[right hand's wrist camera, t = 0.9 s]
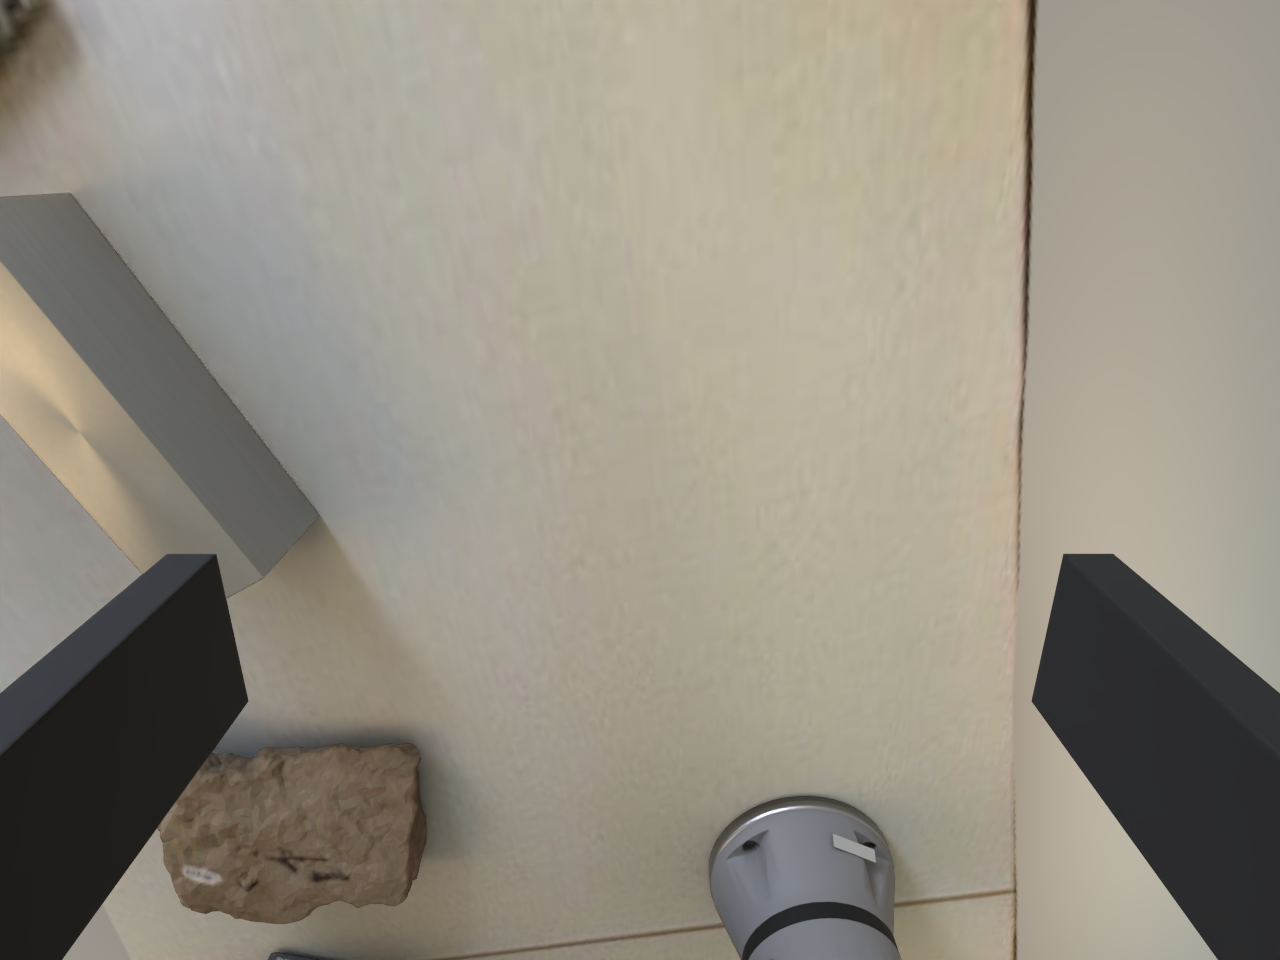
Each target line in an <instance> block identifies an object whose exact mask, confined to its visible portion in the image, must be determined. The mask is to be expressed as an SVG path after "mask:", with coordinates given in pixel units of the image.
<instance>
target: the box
mask: <svg viewBox="0 0 1280 960" xmlns="http://www.w3.org/2000/svg"><path fill="white" fill-rule="evenodd" d="M0 415H1V416H2V417H3V418H4V419H5V420H6V421H7V422H8V424H9V425H10V426H11V427H12V428H13V429H14V430H15V431H16V433H17V434H18V435H19V436H20V437H21V438H22V439H23V440H24V442H25V443H26V444H27V445H28V446H29V447H30V448H31V449H32V451H33V452H34V453H35V454H36V455H37V456H38V457H39V458H40V459H41V461H42V462H43V463H44V464H45V465H46V466H47V467H48V468H49V470H50V471H51V472H52V473H53V474H54V475H55V476H56V477H57V479H58V480H59V481H60V482H61V483H62V484H63V485H64V486H65V488H66V489H67V490H68V491H69V492H70V493H71V494H72V495H73V497H74V498H75V499H76V500H77V501H78V502H79V503H80V504H81V506H82V507H83V508H84V509H85V510H86V511H87V512H88V513H89V515H90V516H91V517H92V518H93V519H94V520H95V521H96V522H97V524H98V525H99V526H100V527H101V528H102V529H103V530H104V531H105V533H106V534H107V535H108V536H109V537H110V538H111V539H112V540H113V542H114V543H115V544H116V545H117V546H118V547H119V548H120V549H121V551H122V552H123V553H124V554H125V555H126V556H127V557H128V558H129V560H130V561H131V562H132V563H133V564H134V565H135V566H136V567H137V569H138V570H139V571H140V572H141V573H142V574H144V573H145V572H146V571H147V570H148V569H150V568H151V567H152V566H153V565H154V564H156V563H157V562H158V561H159V560H160V559H161V558H163V557H164V556H165V555H166V554H217V559H218V564H219V568H220V573H221V577H222V582H223V587H224V591H225V596H226V598H228V597H230V596H232V595H234V594H236V593H237V592H239V591H241V590H243V589H245V588H246V587H248V586H250V585H252V584H254V583H256V582H257V581H259V580H261V579H263V578H264V577H265V576H266V575H267V574H268V573H269V572H270V570H271V569H272V568H273V567H274V566H275V565H276V564H277V563H278V561H279V560H280V559H281V558H282V557H283V556H284V555H285V554H286V553H287V551H288V550H289V549H290V548H291V547H292V546H293V545H294V544H295V542H296V541H297V540H298V539H299V538H300V537H301V536H302V535H303V534H304V532H305V531H306V530H307V529H308V528H309V527H310V526H311V525H312V523H313V522H314V521H315V520H316V519H317V518H318V517H319V516H320V515H319V514H318V512H317V511H316V510H315V508H314V507H313V506H312V505H311V503H310V502H309V501H308V499H307V498H306V497H305V496H304V494H303V493H302V492H301V490H300V489H299V488H298V487H297V485H296V484H295V483H294V481H293V480H292V479H291V477H290V476H289V475H288V474H287V472H286V471H285V470H284V468H283V467H282V466H281V465H280V463H279V462H278V461H277V459H276V458H275V457H274V456H273V454H272V453H271V452H270V450H269V449H268V448H267V446H266V445H265V444H264V443H263V441H262V440H261V439H260V437H259V436H258V435H257V434H256V432H255V431H254V430H253V428H252V427H251V426H250V425H249V423H248V422H247V421H246V419H245V418H244V417H243V415H242V414H241V413H240V412H239V410H238V409H237V408H236V406H235V405H234V404H233V403H232V401H231V400H230V399H229V397H228V396H227V395H226V394H225V392H224V391H223V390H222V388H221V387H220V386H219V384H218V383H217V382H216V381H215V379H214V378H213V377H212V375H211V374H210V373H209V372H208V370H207V369H206V368H205V366H204V365H203V364H202V363H201V361H200V360H199V359H198V357H197V356H196V355H195V353H194V352H193V351H192V350H191V348H190V347H189V346H188V344H187V343H186V342H185V341H184V339H183V338H182V337H181V335H180V334H179V333H178V332H177V330H176V329H175V328H174V326H173V325H172V324H171V322H170V321H169V320H168V319H167V317H166V316H165V315H164V313H163V312H162V311H161V310H160V308H159V307H158V306H157V304H156V303H155V302H154V301H153V299H152V298H151V297H150V295H149V294H148V293H147V292H146V290H145V289H144V288H143V286H142V285H141V284H140V282H139V281H138V280H137V279H136V277H135V276H134V275H133V273H132V272H131V271H130V270H129V268H128V267H127V266H126V264H125V263H124V262H123V261H122V259H121V258H120V257H119V255H118V254H117V253H116V251H115V250H114V249H113V248H112V246H111V245H110V244H109V242H108V241H107V240H106V239H105V237H104V236H103V235H102V233H101V232H100V231H99V230H98V228H97V227H96V226H95V224H94V223H93V222H92V220H91V219H90V218H89V217H88V215H87V214H86V213H85V211H84V210H83V209H82V208H81V206H80V205H79V204H78V202H77V201H76V200H75V199H74V197H73V196H72V195H71V193H58V194H42V195H25V196H9V197H0Z"/></svg>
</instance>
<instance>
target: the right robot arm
mask: <svg viewBox="0 0 1280 960" xmlns="http://www.w3.org/2000/svg"><path fill="white" fill-rule="evenodd" d="M247 702H248V697H247V693H246V688H245V683H244V679H243V674H242V670H241V665H240V660H239V656H238V651H237V647H236V642H235V637H234V633H233V628H232V623H231V619H230V614H229V610H228V605H227V600H226V596H225V591H224V587H223V582H222V577H221V573H220V568H219V564H218V559H217V554H166V555H165V556H164V557H163V558H161V559H160V560H159V561H158V562H157V563H156V564H154V565H153V566H152V567H151V568H150V569H148V570H147V571H146V572H145V573H144V574H142V575H141V576H140V577H139V578H138V579H136V580H135V581H134V582H133V583H132V584H130V585H129V586H128V587H127V588H126V589H124V590H123V591H122V592H121V593H120V594H118V595H117V596H116V597H115V598H114V599H113V600H111V601H110V602H109V603H108V604H107V605H105V606H104V607H103V608H102V609H101V610H99V611H98V612H97V613H96V614H95V615H93V616H92V617H91V618H90V619H89V620H87V621H86V622H85V623H84V624H83V625H81V626H80V627H79V628H78V629H77V630H75V631H74V632H73V633H72V634H71V635H70V636H68V637H67V638H66V639H65V640H64V641H62V642H61V643H60V644H59V645H58V646H56V647H55V648H54V649H53V650H52V651H50V652H49V653H48V654H47V655H46V656H44V657H43V658H42V659H41V660H40V661H38V662H37V663H36V664H35V665H34V666H32V667H31V668H30V669H29V670H28V671H27V672H25V673H24V674H23V675H22V676H21V677H19V678H18V679H17V680H16V681H15V682H13V683H12V684H11V685H10V686H9V687H7V688H6V689H5V690H4V691H3V692H1V693H0V960H62V959H63V958H64V956H65V955H66V953H67V952H68V951H69V949H70V948H71V946H72V945H73V944H74V942H75V941H76V940H77V938H78V937H79V935H80V934H81V933H82V931H83V930H84V928H85V927H86V926H87V924H88V923H89V922H90V920H91V919H92V917H93V916H94V915H95V913H96V912H97V910H98V909H99V908H100V906H101V905H102V903H103V902H104V901H105V899H106V898H107V897H108V895H109V894H110V892H111V891H112V890H113V888H114V887H115V885H116V884H117V883H118V881H119V880H120V879H121V877H122V876H123V874H124V873H125V872H126V870H127V869H128V867H129V866H130V865H131V863H132V862H133V860H134V859H135V858H136V856H137V855H138V854H139V852H140V851H141V849H142V848H143V847H144V845H145V844H146V842H147V841H148V840H149V838H150V837H151V836H152V834H153V833H154V831H155V830H156V829H157V827H158V826H159V824H160V823H161V822H162V820H163V819H164V817H165V816H166V815H167V813H168V812H169V811H170V809H171V808H172V806H173V805H174V804H175V802H176V801H177V799H178V798H179V797H180V795H181V794H182V793H183V791H184V790H185V788H186V787H187V786H188V784H189V783H190V781H191V780H192V779H193V777H194V776H195V775H196V773H197V772H198V770H199V769H200V768H201V766H202V765H203V763H204V762H205V761H206V759H207V758H208V756H209V755H210V754H211V752H212V751H213V750H214V748H215V747H216V745H217V744H218V743H219V741H220V740H221V738H222V737H223V736H224V734H225V733H226V732H227V730H228V729H229V727H230V726H231V725H232V723H233V722H234V720H235V719H236V718H237V716H238V715H239V713H240V712H241V711H242V709H243V708H244V707H245V705H246V704H247ZM1032 702H1033V704H1034V705H1035V706H1036V708H1037V709H1038V711H1039V712H1040V713H1041V715H1042V716H1043V718H1044V719H1045V720H1046V722H1047V723H1048V725H1049V726H1050V727H1051V729H1052V730H1053V731H1054V733H1055V734H1056V736H1057V737H1058V738H1059V740H1060V741H1061V743H1062V744H1063V745H1064V747H1065V748H1066V750H1067V751H1068V752H1069V754H1070V755H1071V756H1072V758H1073V759H1074V761H1075V762H1076V763H1077V765H1078V766H1079V768H1080V769H1081V770H1082V772H1083V773H1084V774H1085V776H1086V777H1087V779H1088V780H1089V781H1090V783H1091V784H1092V786H1093V787H1094V788H1095V790H1096V791H1097V793H1098V794H1099V795H1100V797H1101V798H1102V799H1103V801H1104V802H1105V804H1106V805H1107V806H1108V808H1109V809H1110V810H1111V812H1112V813H1113V815H1114V816H1115V817H1116V819H1117V820H1118V822H1119V823H1120V824H1121V826H1122V827H1123V829H1124V830H1125V831H1126V833H1127V834H1128V836H1129V837H1130V838H1131V840H1132V841H1133V842H1134V844H1135V845H1136V847H1137V848H1138V849H1139V851H1140V852H1141V853H1142V855H1143V856H1144V858H1145V859H1146V860H1147V862H1148V863H1149V865H1150V866H1151V867H1152V869H1153V870H1154V871H1155V873H1156V874H1157V876H1158V877H1159V878H1160V880H1161V881H1162V883H1163V884H1164V885H1165V887H1166V888H1167V890H1168V891H1169V892H1170V894H1171V895H1172V897H1173V898H1174V899H1175V901H1176V902H1177V903H1178V905H1179V906H1180V908H1181V909H1182V910H1183V912H1184V913H1185V915H1186V916H1187V917H1188V919H1189V920H1190V922H1191V923H1192V924H1193V926H1194V927H1195V928H1196V930H1197V931H1198V933H1199V934H1200V935H1201V937H1202V938H1203V940H1204V941H1205V942H1206V944H1207V945H1208V946H1209V948H1210V949H1211V951H1212V952H1213V953H1214V955H1215V956H1216V958H1217V959H1218V960H1280V693H1279V692H1277V691H1276V690H1275V689H1274V688H1273V687H1271V686H1270V685H1269V684H1268V683H1267V682H1265V681H1264V680H1263V679H1262V678H1261V677H1259V676H1258V675H1257V674H1256V673H1255V672H1253V671H1252V670H1251V669H1250V668H1249V667H1247V666H1246V665H1245V664H1244V663H1243V662H1242V661H1240V660H1239V659H1238V658H1237V657H1236V656H1234V655H1233V654H1232V653H1231V652H1230V651H1228V650H1227V649H1226V648H1225V647H1224V646H1222V645H1221V644H1220V643H1219V642H1218V641H1216V640H1215V639H1214V638H1213V637H1212V636H1210V635H1209V634H1208V633H1207V632H1206V631H1204V630H1203V629H1202V628H1201V627H1200V626H1198V625H1197V624H1196V623H1195V622H1194V621H1193V620H1191V619H1190V618H1189V617H1188V616H1187V615H1185V614H1184V613H1183V612H1182V611H1181V610H1179V609H1178V608H1177V607H1176V606H1175V605H1173V604H1172V603H1171V602H1170V601H1169V600H1167V599H1166V598H1165V597H1164V596H1163V595H1161V594H1160V593H1159V592H1158V591H1157V590H1156V589H1154V588H1153V587H1152V586H1151V585H1150V584H1148V583H1147V582H1146V581H1145V580H1144V579H1142V578H1141V577H1140V576H1139V575H1138V574H1136V573H1135V572H1134V571H1133V570H1132V569H1130V568H1129V567H1128V566H1127V565H1126V564H1124V563H1123V562H1122V561H1121V560H1120V559H1119V558H1117V557H1116V556H1115V555H1114V554H1063V559H1062V564H1061V568H1060V573H1059V577H1058V582H1057V587H1056V591H1055V596H1054V600H1053V605H1052V610H1051V614H1050V619H1049V624H1048V628H1047V633H1046V638H1045V642H1044V647H1043V651H1042V656H1041V660H1040V665H1039V670H1038V674H1037V679H1036V683H1035V688H1034V693H1033V697H1032ZM709 880H710V889H711V895H712V898H713V901H714V904H715V907H716V910H717V912H718V914H719V916H720V918H721V920H722V922H723V924H724V926H725V928H726V930H727V932H728V934H729V936H730V938H731V940H732V942H733V944H734V946H735V948H736V950H737V952H738V954H739V956H740V958H741V960H901V957H900V954H899V952H898V948H897V945H896V942H895V939H894V936H893V926H894V890H895V875H894V867H893V861H892V857H891V854H890V852H889V849H888V846H887V843H886V841H885V838H884V836H883V834H882V833H881V831H880V829H879V828H878V827H877V825H876V824H875V823H874V822H873V821H872V820H871V819H870V818H869V817H868V816H866V815H865V814H864V813H862V812H861V811H859V810H858V809H856V808H854V807H852V806H850V805H848V804H845V803H843V802H839V801H836V800H833V799H828V798H822V797H812V796H797V797H788V798H782V799H778V800H774V801H770V802H767V803H764V804H762V805H759V806H757V807H755V808H753V809H751V810H749V811H747V812H745V813H744V814H742V815H741V816H739V817H738V818H737V819H735V820H734V821H733V822H732V823H731V824H730V825H729V826H728V827H727V828H726V829H725V830H724V831H723V832H722V833H721V835H720V836H719V838H718V839H717V841H716V843H715V845H714V847H713V849H712V852H711V855H710V860H709Z"/></svg>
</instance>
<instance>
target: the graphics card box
mask: <svg viewBox="0 0 1280 960" xmlns="http://www.w3.org/2000/svg"><path fill="white" fill-rule="evenodd" d="M268 960H317V959H312V958H306V957H299V956H295V955H289V954H284V953H279V952H275V953H271V955H270V956H269V958H268Z"/></svg>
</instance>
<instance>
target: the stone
mask: <svg viewBox="0 0 1280 960" xmlns="http://www.w3.org/2000/svg"><path fill="white" fill-rule="evenodd" d="M420 760H421V758H420V754H419V751H418V750H417V749H416V747H415V746H414V745H413V744H400V745H395V744H387V745H379V746H372V747H367V748H359V747H350V746H347V745H345V744H342V743H341V744H337V745H332V746H324V747H322V748H320V749H305V748H302V747H295V748H279V747H270V748H262V749H260V751H259V753H258V754H257V756H256V757H255V758H252V759H250V758H245V757H241V756H238V755H235V754H231V753H222V754H219V755H217V754H213V753H211V754H210V755H209V756H208V758H207V759H206V761H205V762H204V763H203V765H202V766H201V768H200V769H199V770H198V772H197V773H196V775H195V776H194V777H193V779H192V780H191V781H190V783H189V784H188V786H187V787H186V788H185V790H184V791H183V793H182V794H181V795H180V797H179V798H178V799H177V801H176V802H175V804H174V805H173V806H172V808H171V809H170V811H169V812H168V813H167V815H166V816H165V817H164V819H163V820H162V822H161V823H160V824H159V826H158V827H157V828H158V829H159V831H160V838H161V840H162V842H163V851H164V864H165V866H166V869H167V870H168V872H169V873H170V874H171V878H172V882H173V886H174V888H175V891H176V893H177V894H178V897H179V898H180V902H181V903H182V905H183V906H185V907H187V908H190V909H191V910H192V911H196V912H199V913H205V914H207V913H209V912H211V911H221V912H223V913H227V914H230V915H231V916H233V917H234V918H235V919H239V918H241V919H244V920H249V921H254V922H265V923H273V924H286V923H291V922H296V921H299V920H302V919H304V918H305V917H307V916H308V915H310V913H311V912H312V911H313V910H314V909H315V908H317V907H319V906H322V905H327V904H330V903H332V902H334V901H339V900H342V901H344V902H347V903H350V904H352V905H354V906H355V907H357V908H359V907H362V906H365V905H368V904H385V905H391V906H396V905H398V904H400V903H402V902H403V901H404V900H405V899H406V897H407V895H408V892H409V891H410V888H411V885H412V880H415V879H417V876H418V872H419V866H420V862H421V857H422V853H423V849H424V846H425V844H426V821H425V815H424V813H423V811H422V808H421V806H420V794H419V774H418V770H417V767H418V764H419V762H420Z"/></svg>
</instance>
